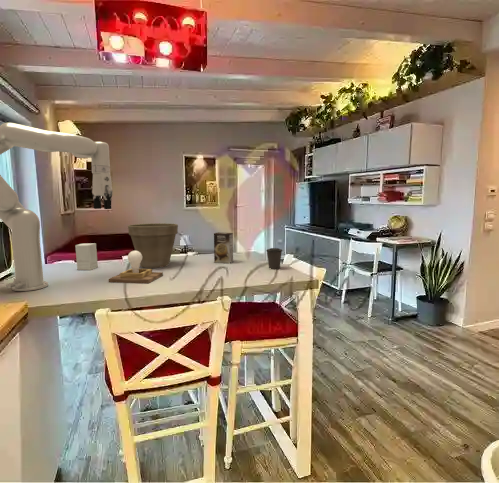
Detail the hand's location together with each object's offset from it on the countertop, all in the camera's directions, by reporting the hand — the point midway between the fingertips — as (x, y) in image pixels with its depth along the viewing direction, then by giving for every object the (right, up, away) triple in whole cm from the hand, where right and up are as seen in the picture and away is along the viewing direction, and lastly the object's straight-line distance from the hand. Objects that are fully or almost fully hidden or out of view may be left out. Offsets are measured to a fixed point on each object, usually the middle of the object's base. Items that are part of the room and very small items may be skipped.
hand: (102, 208), depth 163 cm
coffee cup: (+79, -28, +16) cm, 85 cm away
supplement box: (-16, -29, +20) cm, 38 cm away
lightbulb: (+16, -30, -3) cm, 34 cm away
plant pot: (+17, -28, +26) cm, 42 cm away
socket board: (+17, -31, -4) cm, 36 cm away
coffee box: (+53, -26, +33) cm, 68 cm away
